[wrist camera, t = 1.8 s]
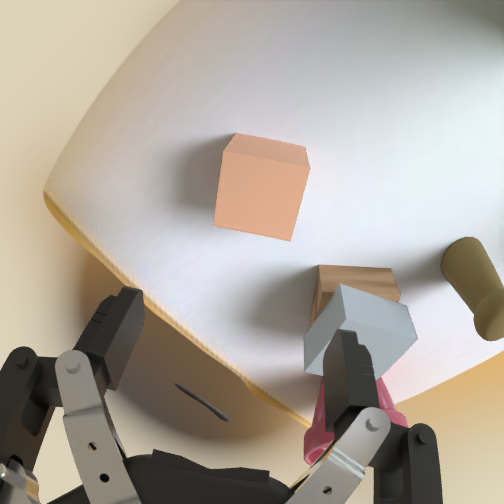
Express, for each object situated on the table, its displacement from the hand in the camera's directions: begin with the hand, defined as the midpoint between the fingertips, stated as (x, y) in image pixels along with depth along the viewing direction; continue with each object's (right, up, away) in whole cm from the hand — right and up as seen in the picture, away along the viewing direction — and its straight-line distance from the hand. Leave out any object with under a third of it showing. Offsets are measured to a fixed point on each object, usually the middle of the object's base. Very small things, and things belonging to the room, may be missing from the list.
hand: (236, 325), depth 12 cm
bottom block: (+12, -2, +22) cm, 25 cm away
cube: (+2, +10, +15) cm, 18 cm away
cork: (+25, +2, +18) cm, 30 cm away
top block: (+11, -4, +18) cm, 22 cm away
